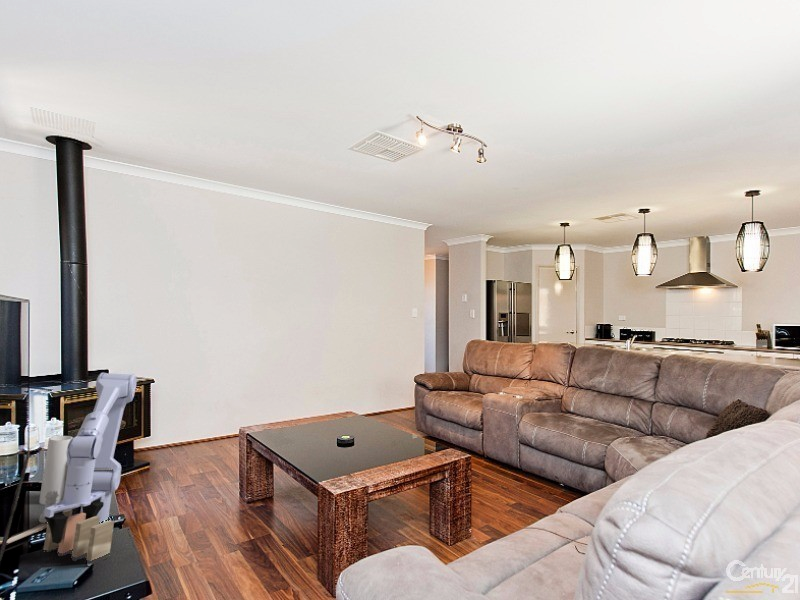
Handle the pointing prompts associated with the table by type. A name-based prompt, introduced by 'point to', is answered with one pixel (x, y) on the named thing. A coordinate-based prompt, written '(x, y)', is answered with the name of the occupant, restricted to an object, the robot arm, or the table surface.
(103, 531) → the birch domino
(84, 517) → the terracotta domino
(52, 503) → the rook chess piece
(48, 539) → the birch domino
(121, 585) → the table surface
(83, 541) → the birch domino
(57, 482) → the candle
